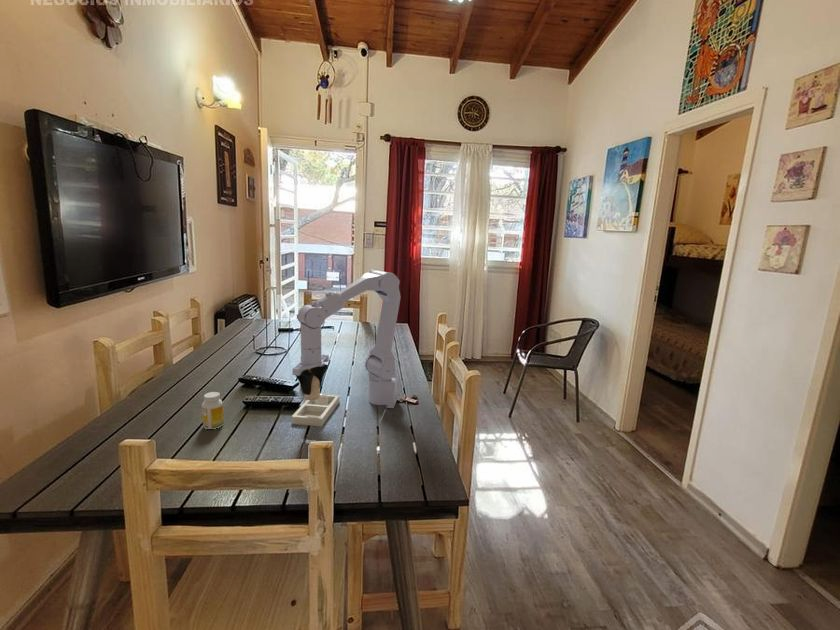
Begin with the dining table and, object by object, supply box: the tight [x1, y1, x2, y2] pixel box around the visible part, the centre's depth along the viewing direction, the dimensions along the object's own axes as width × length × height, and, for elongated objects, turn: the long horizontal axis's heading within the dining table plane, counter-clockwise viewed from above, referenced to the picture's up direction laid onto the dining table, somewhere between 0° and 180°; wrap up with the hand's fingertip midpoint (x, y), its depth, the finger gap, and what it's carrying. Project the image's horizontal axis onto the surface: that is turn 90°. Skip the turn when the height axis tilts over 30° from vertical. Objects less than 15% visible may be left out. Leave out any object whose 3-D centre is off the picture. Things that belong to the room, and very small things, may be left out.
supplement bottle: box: [201, 391, 225, 430], centre depth 117 cm, size 5×5×10 cm
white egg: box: [314, 392, 328, 406], centre depth 131 cm, size 4×4×4 cm
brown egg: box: [303, 376, 321, 401], centre depth 121 cm, size 4×4×7 cm
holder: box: [291, 394, 340, 427], centre depth 127 cm, size 9×17×3 cm, turn 174°
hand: (311, 391), depth 122 cm, fingers closed on brown egg, 4 cm apart
